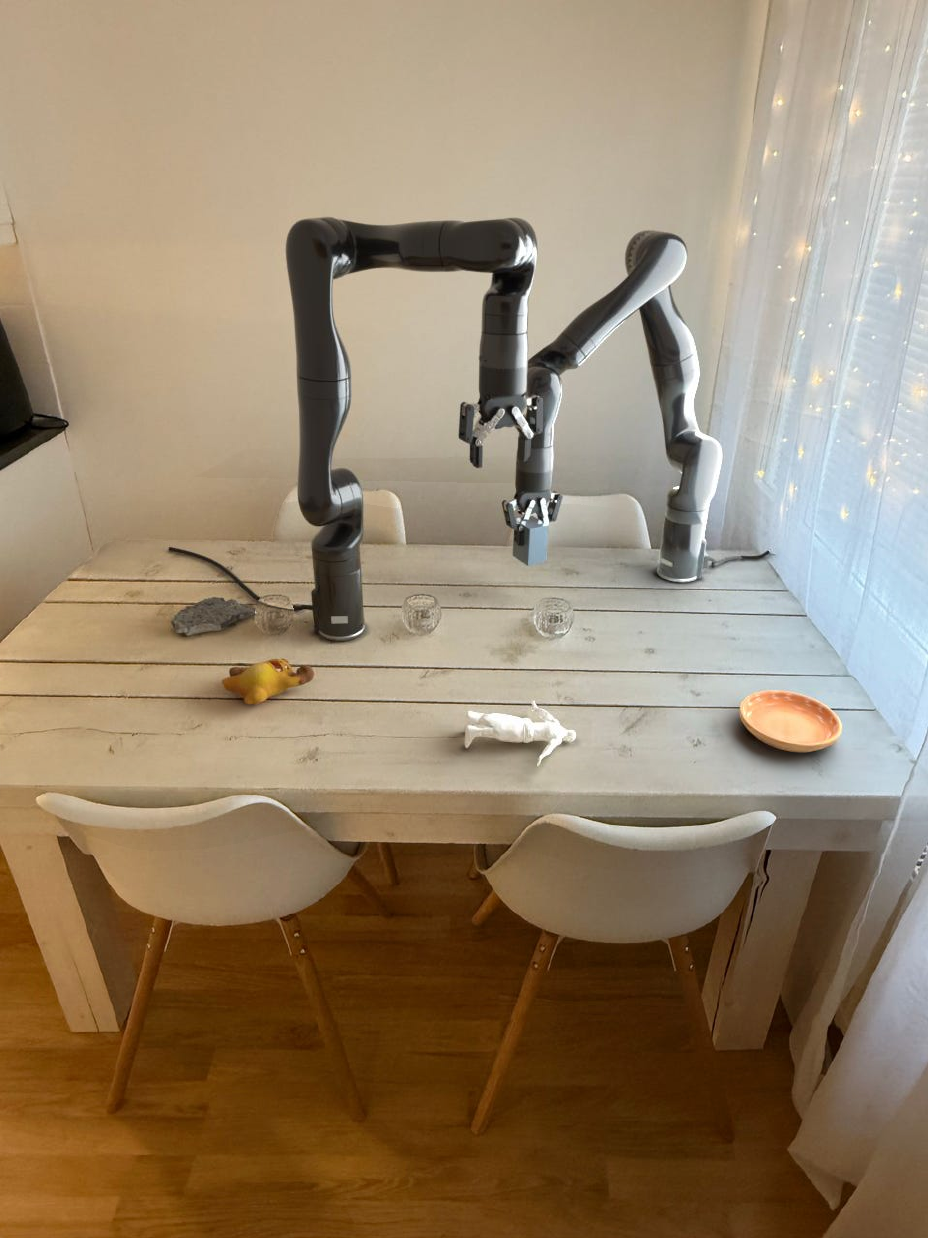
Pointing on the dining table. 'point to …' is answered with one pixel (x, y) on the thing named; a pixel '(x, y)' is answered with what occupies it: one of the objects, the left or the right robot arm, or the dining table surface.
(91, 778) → the dining table surface
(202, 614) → the stone slab
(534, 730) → the figurine
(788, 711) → the saucer
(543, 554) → the block
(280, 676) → the toy
